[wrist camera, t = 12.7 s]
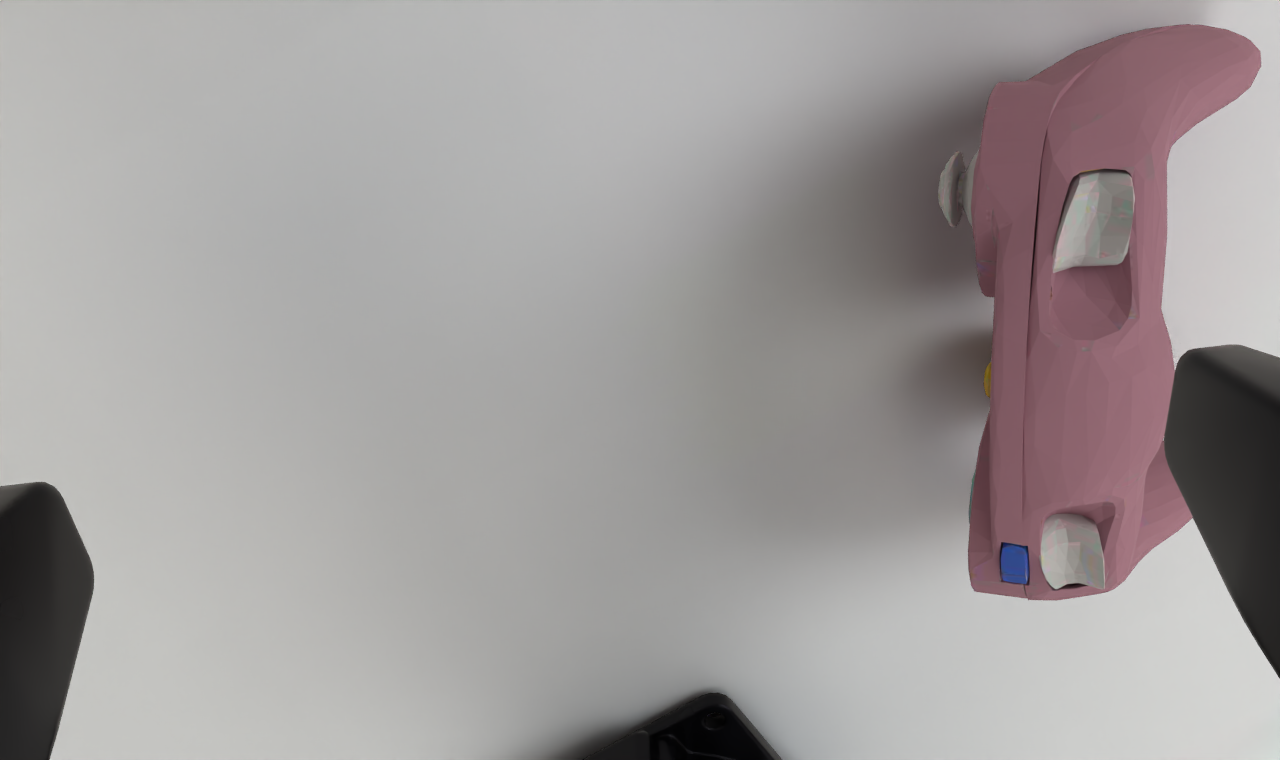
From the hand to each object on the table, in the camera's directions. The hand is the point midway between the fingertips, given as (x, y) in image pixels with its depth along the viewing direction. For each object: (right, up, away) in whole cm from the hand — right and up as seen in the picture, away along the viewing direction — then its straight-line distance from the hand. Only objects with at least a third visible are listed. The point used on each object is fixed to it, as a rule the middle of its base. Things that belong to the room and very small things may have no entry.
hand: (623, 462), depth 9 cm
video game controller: (+8, +3, +13) cm, 16 cm away
